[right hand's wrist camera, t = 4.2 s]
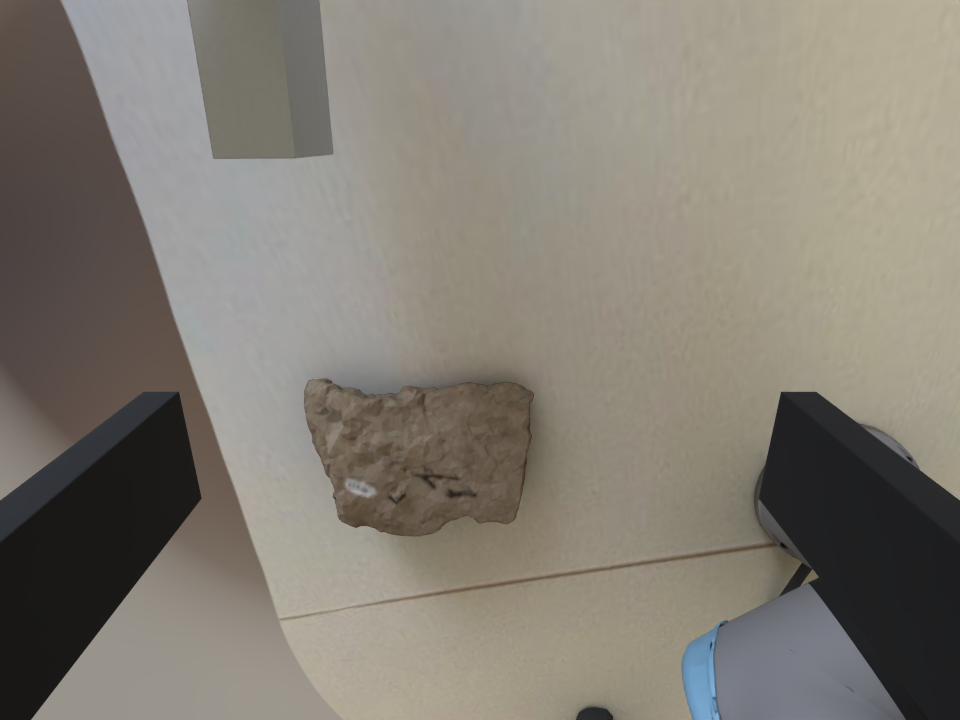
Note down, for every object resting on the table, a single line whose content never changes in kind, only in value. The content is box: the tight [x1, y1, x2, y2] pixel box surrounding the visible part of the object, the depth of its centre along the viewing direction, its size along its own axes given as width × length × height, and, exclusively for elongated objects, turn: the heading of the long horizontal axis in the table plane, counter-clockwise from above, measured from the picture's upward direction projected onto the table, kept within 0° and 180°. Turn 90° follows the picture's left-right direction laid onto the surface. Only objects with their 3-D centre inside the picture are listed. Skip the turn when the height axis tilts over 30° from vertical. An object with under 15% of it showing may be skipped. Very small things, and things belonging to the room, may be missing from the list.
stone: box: [304, 379, 534, 536], centre depth 54 cm, size 21×15×6 cm
